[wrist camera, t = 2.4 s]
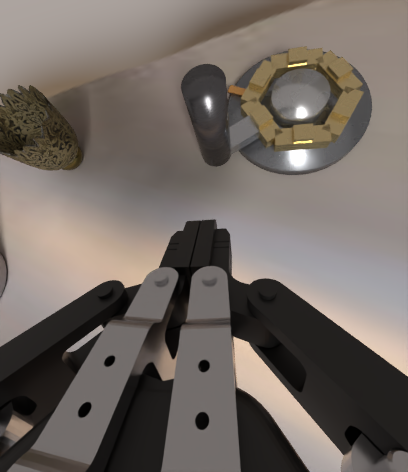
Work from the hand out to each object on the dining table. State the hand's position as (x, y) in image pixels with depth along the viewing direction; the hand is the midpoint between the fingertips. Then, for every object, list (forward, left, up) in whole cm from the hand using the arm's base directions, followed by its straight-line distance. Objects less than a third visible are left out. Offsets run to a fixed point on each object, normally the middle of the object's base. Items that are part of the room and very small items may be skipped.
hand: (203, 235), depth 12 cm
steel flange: (+15, +10, -12) cm, 22 cm away
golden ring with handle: (+12, +10, -11) cm, 19 cm away
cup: (-11, +21, -12) cm, 27 cm away
